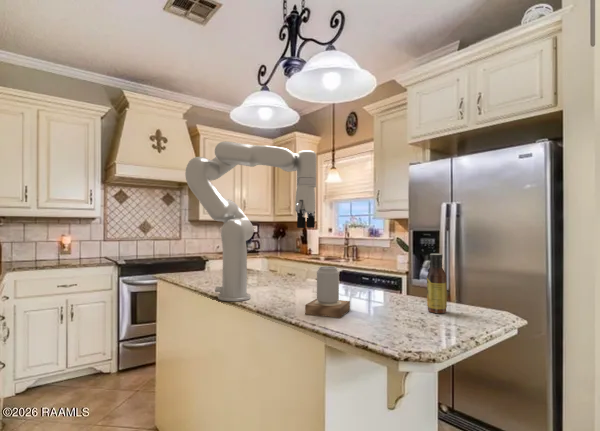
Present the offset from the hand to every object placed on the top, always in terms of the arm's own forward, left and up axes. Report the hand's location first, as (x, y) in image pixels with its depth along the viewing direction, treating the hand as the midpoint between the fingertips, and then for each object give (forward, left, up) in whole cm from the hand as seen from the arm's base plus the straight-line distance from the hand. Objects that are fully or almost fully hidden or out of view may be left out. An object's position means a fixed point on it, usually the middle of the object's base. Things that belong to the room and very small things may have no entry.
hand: (306, 227), depth 142 cm
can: (+13, -12, -25) cm, 31 cm away
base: (+13, -12, -28) cm, 33 cm away
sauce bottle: (+47, +3, -28) cm, 55 cm away
